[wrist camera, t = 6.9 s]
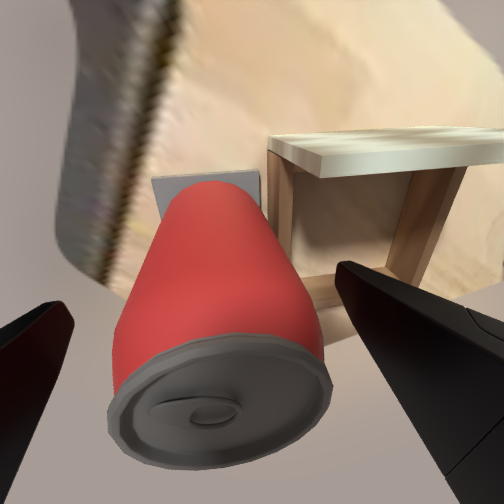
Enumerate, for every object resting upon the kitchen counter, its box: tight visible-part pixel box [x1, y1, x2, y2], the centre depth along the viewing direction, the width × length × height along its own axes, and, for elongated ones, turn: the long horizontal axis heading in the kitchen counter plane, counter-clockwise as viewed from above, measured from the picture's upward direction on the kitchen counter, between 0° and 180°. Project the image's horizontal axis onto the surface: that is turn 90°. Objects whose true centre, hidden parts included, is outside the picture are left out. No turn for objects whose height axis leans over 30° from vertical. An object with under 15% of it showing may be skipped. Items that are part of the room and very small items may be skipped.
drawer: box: [267, 126, 504, 310], centre depth 15 cm, size 12×12×8 cm
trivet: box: [151, 169, 260, 221], centre depth 16 cm, size 6×7×1 cm
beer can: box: [107, 180, 333, 471], centre depth 11 cm, size 7×7×12 cm
